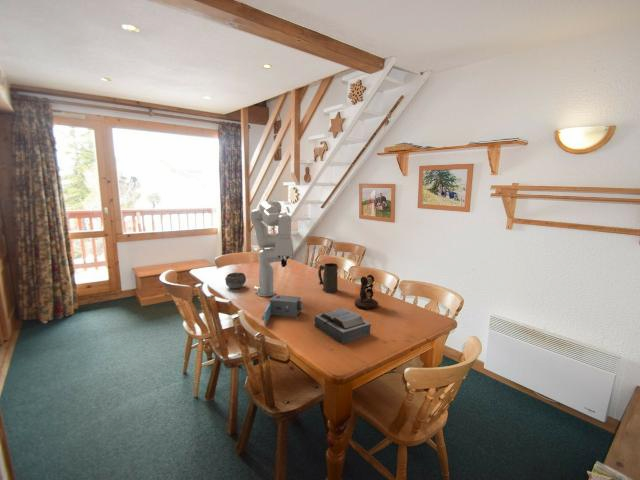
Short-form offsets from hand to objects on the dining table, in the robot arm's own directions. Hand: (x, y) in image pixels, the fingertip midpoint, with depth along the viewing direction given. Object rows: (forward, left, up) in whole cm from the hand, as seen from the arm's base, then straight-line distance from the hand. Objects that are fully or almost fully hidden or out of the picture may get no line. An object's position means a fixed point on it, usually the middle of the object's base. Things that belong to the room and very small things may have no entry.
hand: (283, 266), depth 187 cm
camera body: (+3, -4, -27) cm, 28 cm away
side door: (-5, -16, -27) cm, 32 cm away
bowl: (-46, +32, -28) cm, 62 cm away
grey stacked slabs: (+38, -20, -28) cm, 51 cm away
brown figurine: (+49, +19, -28) cm, 59 cm away
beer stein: (+20, +43, -28) cm, 55 cm away
